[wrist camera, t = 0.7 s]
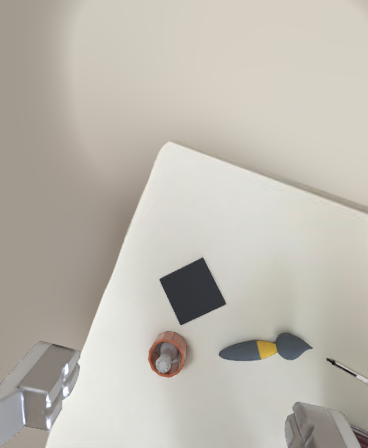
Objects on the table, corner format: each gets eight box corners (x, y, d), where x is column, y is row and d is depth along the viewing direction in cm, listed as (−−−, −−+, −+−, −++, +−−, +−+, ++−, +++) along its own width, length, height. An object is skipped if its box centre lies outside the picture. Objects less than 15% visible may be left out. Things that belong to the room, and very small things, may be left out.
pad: (225, 303, 53) (225, 304, 53) (181, 324, 54) (180, 325, 54) (202, 257, 55) (202, 257, 54) (159, 278, 56) (159, 279, 55)
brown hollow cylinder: (192, 357, 53) (189, 368, 49) (162, 371, 54) (157, 382, 50) (177, 326, 54) (173, 333, 50) (148, 339, 55) (142, 348, 51)
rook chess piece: (169, 335, 55) (161, 351, 47) (183, 348, 54) (177, 367, 46) (157, 348, 55) (147, 366, 47) (170, 362, 54) (162, 383, 46)
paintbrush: (223, 368, 52) (224, 381, 47) (217, 346, 53) (217, 357, 48) (309, 347, 50) (319, 358, 45) (301, 324, 50) (310, 333, 46)
